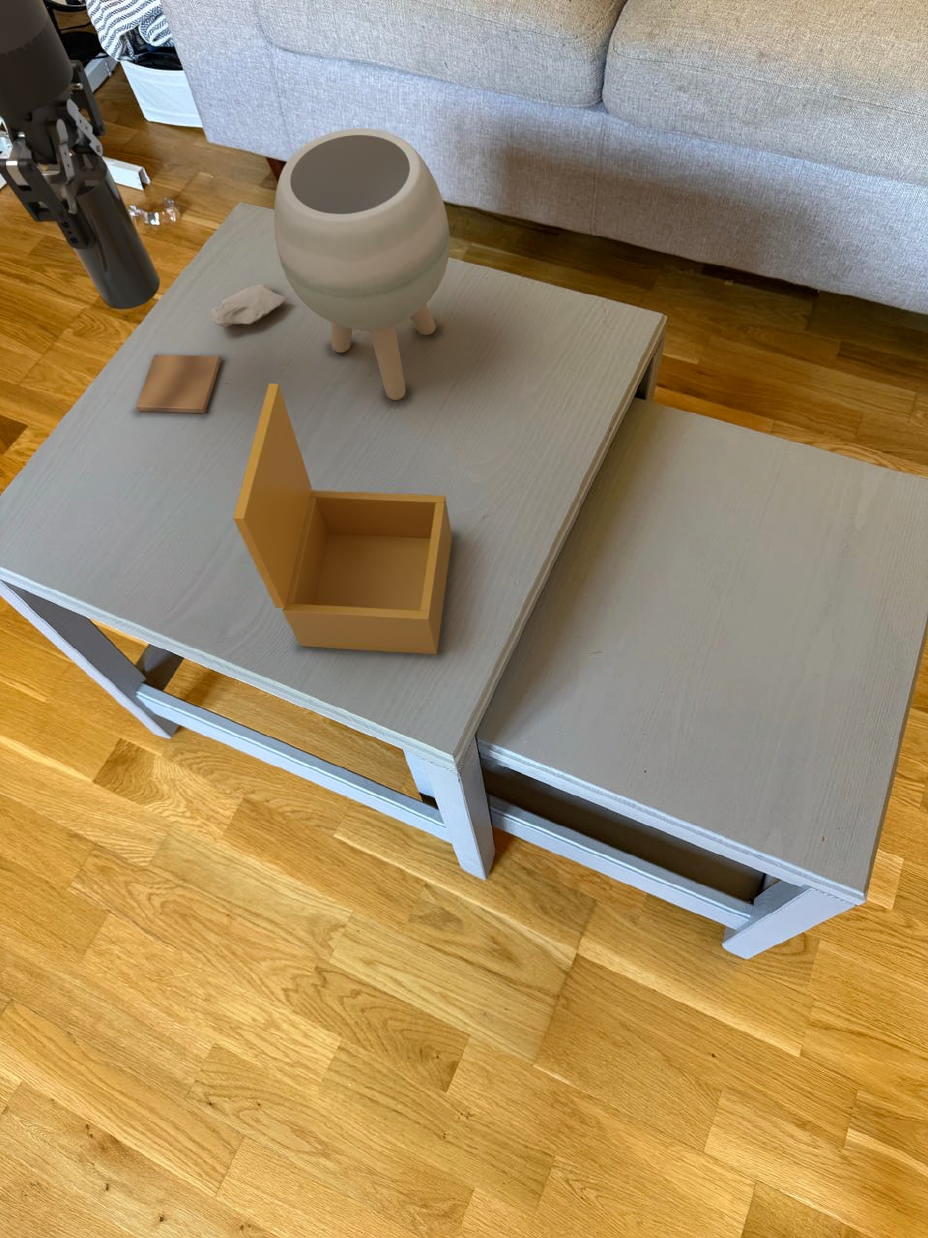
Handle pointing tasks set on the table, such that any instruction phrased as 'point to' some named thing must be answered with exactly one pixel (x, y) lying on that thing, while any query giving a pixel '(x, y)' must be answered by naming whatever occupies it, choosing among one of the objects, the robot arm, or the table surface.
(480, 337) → the table surface
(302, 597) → the chest
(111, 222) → the dark grey cylinder
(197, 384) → the pad
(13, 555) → the table surface
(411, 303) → the planter
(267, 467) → the lid
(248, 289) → the decorative stone
